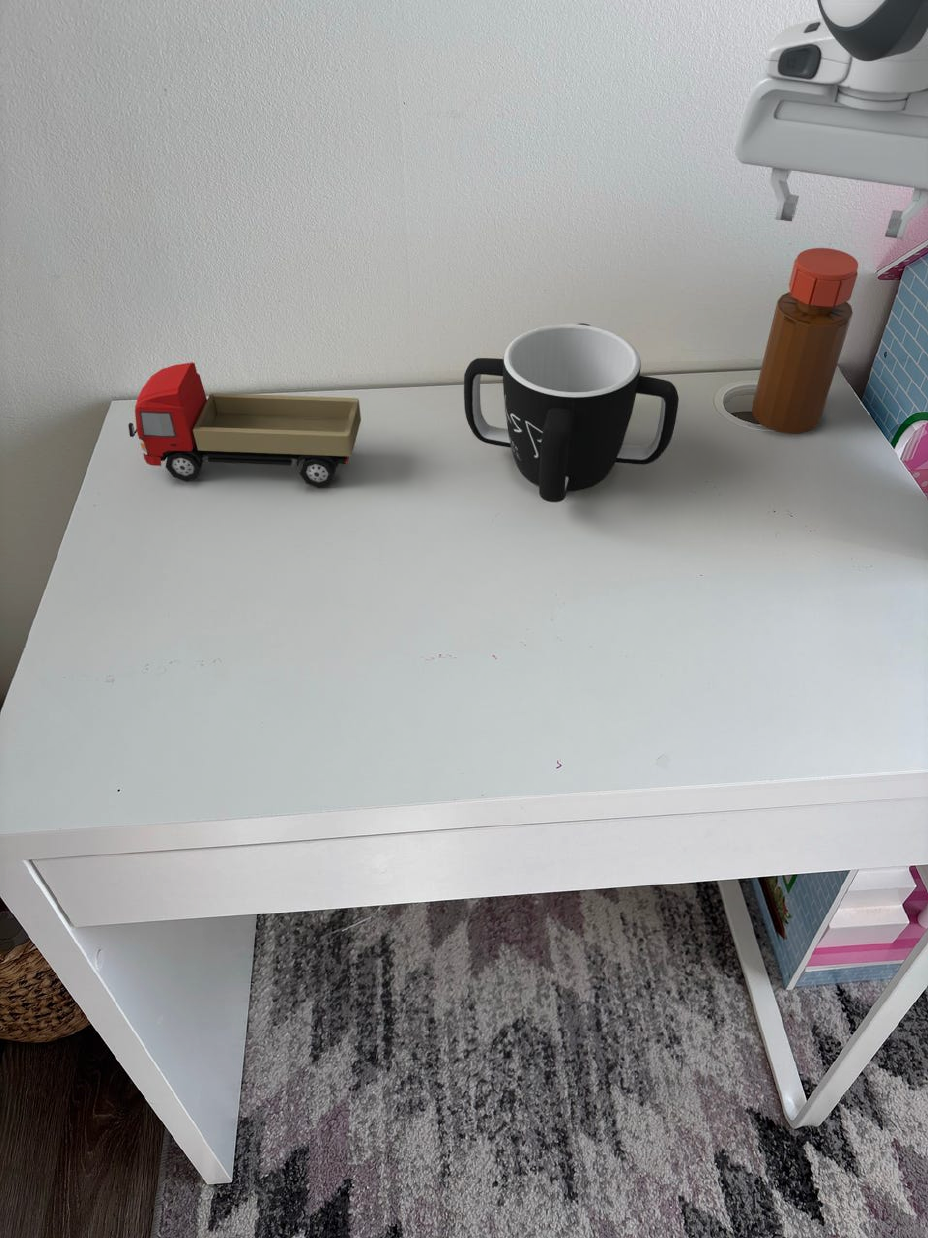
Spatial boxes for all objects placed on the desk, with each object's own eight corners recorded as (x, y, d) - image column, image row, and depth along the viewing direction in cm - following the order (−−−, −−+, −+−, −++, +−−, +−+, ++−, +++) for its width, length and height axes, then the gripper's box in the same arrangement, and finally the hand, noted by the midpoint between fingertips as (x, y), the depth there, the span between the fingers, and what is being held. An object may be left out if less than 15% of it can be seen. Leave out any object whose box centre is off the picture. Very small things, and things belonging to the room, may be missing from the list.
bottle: (833, 417, 99) (880, 269, 87) (788, 441, 96) (831, 291, 85) (782, 388, 103) (820, 242, 91) (738, 410, 100) (771, 262, 88)
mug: (453, 442, 97) (451, 334, 88) (592, 402, 101) (602, 296, 93) (529, 540, 86) (535, 428, 78) (679, 490, 91) (700, 380, 82)
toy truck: (163, 442, 97) (138, 354, 90) (364, 450, 96) (355, 361, 89) (142, 484, 93) (114, 395, 85) (354, 493, 91) (343, 403, 84)
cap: (861, 294, 89) (871, 263, 87) (823, 312, 87) (831, 281, 85) (815, 272, 92) (823, 242, 90) (777, 289, 90) (784, 258, 88)
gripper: (1030, 54, 74) (966, 231, 84) (764, 27, 80) (733, 195, 90) (1027, 79, 70) (960, 262, 80) (747, 49, 76) (717, 222, 86)
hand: (838, 226), depth 85 cm, fingers open, 8 cm apart
